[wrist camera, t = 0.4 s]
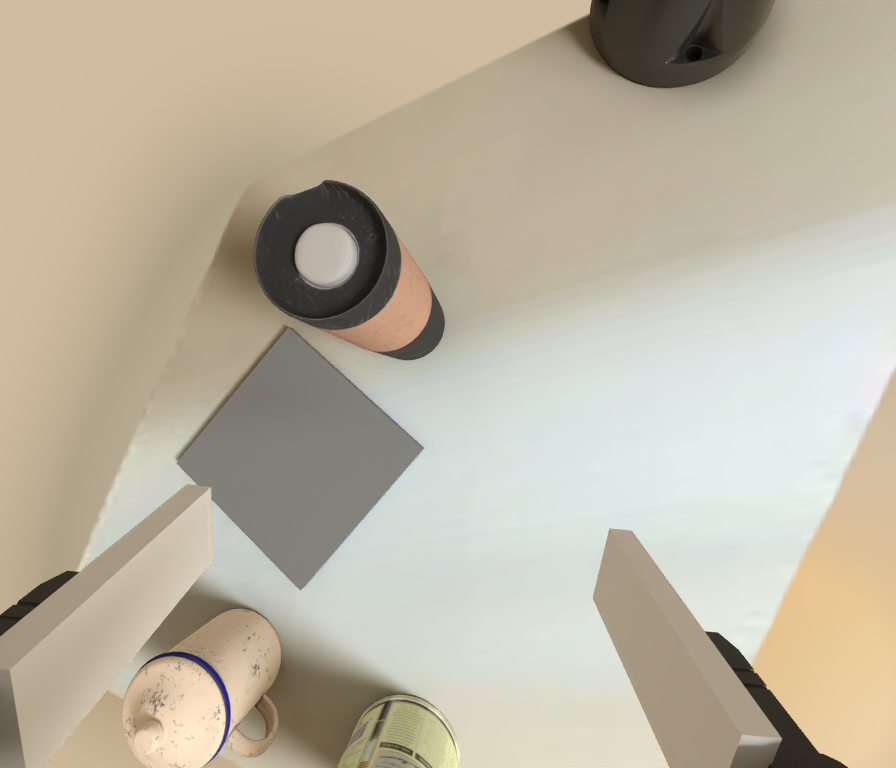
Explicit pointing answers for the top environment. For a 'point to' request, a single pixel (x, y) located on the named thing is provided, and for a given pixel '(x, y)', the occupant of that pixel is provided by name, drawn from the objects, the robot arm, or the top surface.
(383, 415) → the pad
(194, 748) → the teacup with lid
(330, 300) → the travel mug
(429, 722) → the coffee can
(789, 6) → the top surface
